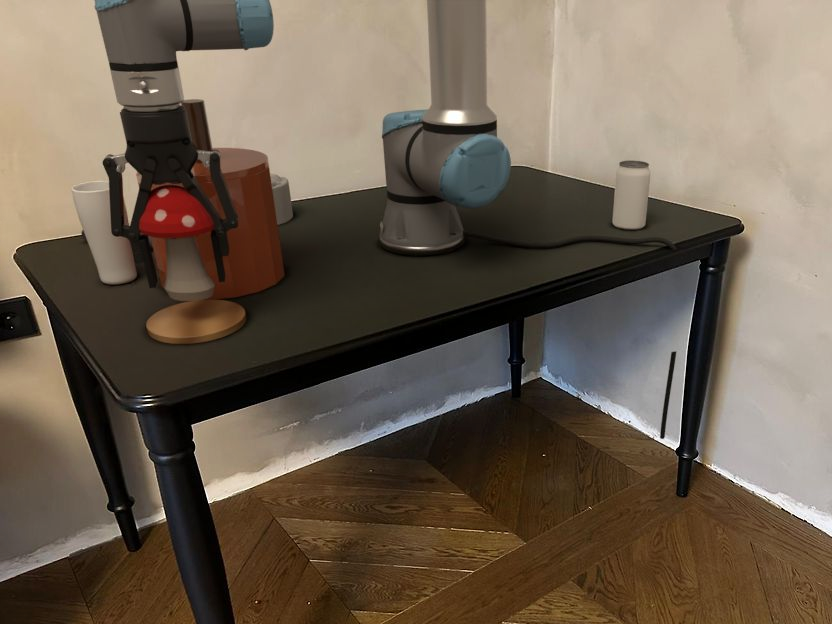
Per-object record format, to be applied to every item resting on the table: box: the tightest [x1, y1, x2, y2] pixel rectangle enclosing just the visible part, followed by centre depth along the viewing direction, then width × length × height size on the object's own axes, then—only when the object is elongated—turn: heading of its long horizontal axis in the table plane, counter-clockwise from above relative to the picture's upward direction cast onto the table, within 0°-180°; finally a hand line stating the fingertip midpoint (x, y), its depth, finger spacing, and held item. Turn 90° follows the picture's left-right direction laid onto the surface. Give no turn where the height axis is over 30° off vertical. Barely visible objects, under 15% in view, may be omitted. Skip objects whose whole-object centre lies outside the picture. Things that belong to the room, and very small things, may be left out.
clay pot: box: [135, 98, 286, 300], centre depth 116 cm, size 19×19×27 cm
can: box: [611, 159, 651, 231], centre depth 146 cm, size 6×6×12 cm
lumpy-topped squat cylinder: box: [270, 172, 294, 226], centre depth 148 cm, size 10×13×9 cm
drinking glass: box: [70, 180, 138, 286], centre depth 117 cm, size 7×7×15 cm
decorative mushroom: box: [139, 185, 214, 302], centre depth 101 cm, size 10×9×15 cm
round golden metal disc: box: [145, 299, 247, 345], centre depth 106 cm, size 13×13×1 cm
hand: (188, 281), depth 103 cm, fingers closed on decorative mushroom, 8 cm apart
